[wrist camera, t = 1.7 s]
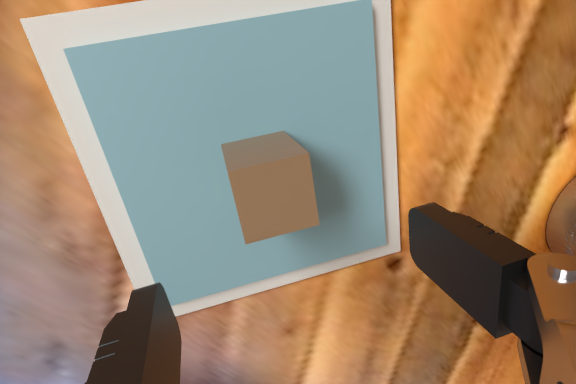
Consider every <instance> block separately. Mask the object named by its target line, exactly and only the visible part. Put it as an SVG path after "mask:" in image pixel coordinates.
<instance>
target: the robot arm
mask: <svg viewBox="0 0 576 384" xmlns="http://www.w3.org/2000/svg"><path fill="white" fill-rule="evenodd" d="M546 239H547V244H548V246H549V248H550V250H551V251H552V252H553V253H551V252H548V253H540V254H535V253H533V252H531V251H530V250H528V249H526V248H524V247H523V246H521V245H519V244H517V243H515V242H514V241H512V240H510V239H508V238H507V237H505V236H503V235H501V234H500V233H498V232H497V233H495V231H494V230H492V229H491V228H489V227H487V226H484V225H483V224H482V223H480V222H478V221H476V220H475V219H473V218H471V217H469V216H465V215H462V214H458V213H455V212H450V211H448V210H447V209H445V208H443V207H442V206H440V205H438V204H436V203H434V202H432V203H428V204H425V205H422V206H418V207H415V208H412V209H410V211H409V241H410V253H411V256H412V259H413V261H414V262H415V264H416V265H417V267H418V268H419V269H421V270H422V271H423V272H424V273H425V274H426V275H427V276H428V277H429V278H430V279H431V280H433V281H434V282H435V283H436V284H437V285H438V286H439V287H440V288H441V289H442V290H443V291H444V292H446V293H447V294H448V295H449V296H450V297H451V298H452V299H453V300H454V301H455V302H456V303H458V304H459V305H460V306H461V307H462V308H463V309H464V310H465V311H466V312H467V313H468V314H470V315H471V316H472V317H473V318H474V319H475V320H476V321H477V322H478V323H479V324H480V325H482V326H483V327H484V328H485V329H486V330H487V331H488V332H489V333H490V334H491V335H492V336H493V337H495V338H496V339H497V338H499V337H502V336H504V335H507V334H510V333H512V332H513V333H514V334H515V335H516V336H518V342H517V348H518V353H519V357H520V362H521V367H522V371H523V376H524V381H525V384H576V177H575V178H574V179H573V180H572V181H571V182H570V183H569V184H568V185H567V186H566V187H565V188H564V190H563V191H562V192H561V193H560V195H559V197H558V198H557V200H556V202H555V203H554V205H553V207H552V210H551V212H550V214H549V218H548V222H547V226H546ZM180 364H181V335H180V330H179V326H178V322H177V320H176V317H175V315H174V312H173V310H172V307H171V305H170V302H169V300H168V297H167V295H166V292H165V290H164V288H163V286H162V284H161V283H160V282H159V283H155V284H152V285H148V286H145V287H142V288H138V289H135V290H133V291H132V293H131V296H130V300H129V303H128V307H127V310H126V311H123V312H120V313H116V315H115V316H114V317H113V319H112V320H111V321H110V322H109V324H108V325H107V326H106V328H105V329H104V331H103V335H102V338H101V341H100V344H99V348H98V350H97V353H96V356H95V362H93V365H92V368H91V371H90V374H89V377H88V380H87V383H86V384H180Z"/></svg>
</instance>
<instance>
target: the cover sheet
mask: <svg viewBox="0 0 576 384" xmlns="http://www.w3.org/2000/svg"><path fill="white" fill-rule="evenodd" d="M63 50H64V53H65V55H66V58H67V60H68V63H69V65H70V68H71V70H72V73H73V76H74V78H75V81H76V83H77V86H78V88H79V91H80V93H81V96H82V99H83V101H84V104H85V106H86V109H87V111H88V114H89V116H90V119H91V121H92V124H93V127H94V129H95V132H96V134H97V137H98V139H99V142H100V144H101V147H102V150H103V152H104V155H105V157H106V160H107V162H108V165H109V167H110V170H111V173H112V175H113V178H114V180H115V183H116V185H117V188H118V190H119V193H120V195H121V198H122V201H123V203H124V206H125V208H126V211H127V213H128V216H129V218H130V221H131V224H132V226H133V229H134V231H135V234H136V236H137V239H138V241H139V244H140V246H141V249H142V252H143V254H144V257H145V259H146V262H147V264H148V267H149V269H150V272H151V275H152V277H153V280H154V282H155V283H159V282H160V283H161V284H162V286H163V288H164V290H165V292H166V295H167V297H168V300H169V302H170V305H171V306H173V305H176V304H180V303H183V302H187V301H190V300H194V299H197V298H201V297H204V296H208V295H211V294H215V293H218V292H222V291H225V290H229V289H232V288H236V287H239V286H243V285H246V284H250V283H253V282H257V281H260V280H264V279H267V278H271V277H274V276H278V275H281V274H285V273H288V272H292V271H295V270H299V269H302V268H306V267H309V266H313V265H316V264H320V263H323V262H327V261H330V260H334V259H337V258H341V257H344V256H348V255H351V254H355V253H358V252H362V251H365V250H369V249H372V248H375V247H379V246H382V245H386V232H385V215H384V198H383V181H382V164H381V147H380V130H379V113H378V96H377V79H376V62H375V46H374V29H373V12H372V0H357V1H351V2H345V3H339V4H333V5H327V6H321V7H315V8H308V9H302V10H296V11H290V12H284V13H278V14H272V15H266V16H260V17H254V18H248V19H241V20H235V21H229V22H223V23H217V24H211V25H205V26H199V27H193V28H187V29H181V30H175V31H168V32H162V33H156V34H150V35H144V36H138V37H132V38H126V39H120V40H114V41H108V42H101V43H95V44H89V45H83V46H77V47H71V48H65V49H63Z"/></svg>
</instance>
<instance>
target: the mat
mask: <svg viewBox="0 0 576 384" xmlns="http://www.w3.org/2000/svg"><path fill="white" fill-rule="evenodd" d="M351 1H357V0H145V1H138V2H131V3H125V4H118V5H111V6H104V7H98V8H91V9H84V10H78V11H71V12H64V13H58V14H51V15H44V16H37V17H31V18H24V19H20V21H21V23H22V26H23V28H24V31H25V33H26V35H27V38H28V40H29V42H30V45H31V47H32V49H33V52H34V54H35V56H36V59H37V61H38V63H39V66H40V68H41V71H42V73H43V75H44V78H45V80H46V82H47V85H48V87H49V89H50V92H51V94H52V96H53V99H54V101H55V103H56V106H57V108H58V111H59V113H60V115H61V118H62V120H63V122H64V125H65V127H66V129H67V132H68V134H69V136H70V139H71V141H72V144H73V146H74V148H75V151H76V153H77V155H78V158H79V160H80V162H81V165H82V167H83V169H84V172H85V174H86V176H87V179H88V181H89V184H90V186H91V188H92V191H93V193H94V195H95V198H96V200H97V202H98V205H99V207H100V209H101V212H102V214H103V216H104V219H105V221H106V224H107V226H108V228H109V231H110V233H111V235H112V238H113V240H114V242H115V245H116V247H117V249H118V252H119V254H120V256H121V259H122V261H123V264H124V266H125V268H126V271H127V273H128V275H129V278H130V280H131V282H132V285H133V287H134V289H138V288H142V287H145V286H148V285H152V284H155V282H154V280H153V277H152V275H151V272H150V269H149V267H148V264H147V262H146V259H145V257H144V254H143V252H142V249H141V246H140V244H139V241H138V239H137V236H136V234H135V231H134V229H133V226H132V224H131V221H130V218H129V216H128V213H127V211H126V208H125V206H124V203H123V201H122V198H121V195H120V193H119V190H118V188H117V185H116V183H115V180H114V178H113V175H112V173H111V170H110V167H109V165H108V162H107V160H106V157H105V155H104V152H103V150H102V147H101V144H100V142H99V139H98V137H97V134H96V132H95V129H94V127H93V124H92V121H91V119H90V116H89V114H88V111H87V109H86V106H85V104H84V101H83V99H82V96H81V93H80V91H79V88H78V86H77V83H76V81H75V78H74V76H73V73H72V70H71V68H70V65H69V63H68V60H67V58H66V55H65V53H64V50H63V49H65V48H71V47H77V46H83V45H89V44H95V43H101V42H108V41H114V40H120V39H126V38H132V37H138V36H144V35H150V34H156V33H162V32H168V31H175V30H181V29H187V28H193V27H199V26H205V25H211V24H217V23H223V22H229V21H235V20H241V19H248V18H254V17H260V16H266V15H272V14H278V13H284V12H290V11H296V10H302V9H308V8H315V7H321V6H327V5H333V4H339V3H345V2H351ZM372 12H373V29H374V46H375V62H376V79H377V96H378V113H379V130H380V147H381V164H382V181H383V198H384V215H385V232H386V245H382V246H379V247H375V248H372V249H369V250H365V251H362V252H358V253H355V254H351V255H348V256H344V257H341V258H337V259H334V260H330V261H327V262H323V263H320V264H316V265H313V266H309V267H306V268H302V269H299V270H295V271H292V272H288V273H285V274H281V275H278V276H274V277H271V278H267V279H264V280H260V281H257V282H253V283H250V284H246V285H243V286H239V287H236V288H232V289H229V290H225V291H222V292H218V293H215V294H211V295H208V296H204V297H201V298H197V299H194V300H190V301H187V302H183V303H180V304H176V305H173V306H171V307H172V310H173V312H174V315H175V317H176V316H180V315H183V314H186V313H190V312H193V311H197V310H200V309H204V308H207V307H210V306H214V305H217V304H221V303H224V302H228V301H231V300H234V299H238V298H241V297H245V296H248V295H252V294H255V293H258V292H262V291H265V290H269V289H272V288H276V287H279V286H282V285H286V284H289V283H293V282H296V281H300V280H303V279H306V278H310V277H313V276H317V275H320V274H324V273H327V272H330V271H334V270H337V269H341V268H344V267H348V266H351V265H354V264H358V263H361V262H365V261H368V260H372V259H375V258H379V257H382V256H385V255H389V254H392V253H396V252H399V251H401V248H400V222H399V197H398V172H397V147H396V122H395V97H394V72H393V47H392V22H391V0H372Z"/></svg>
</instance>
